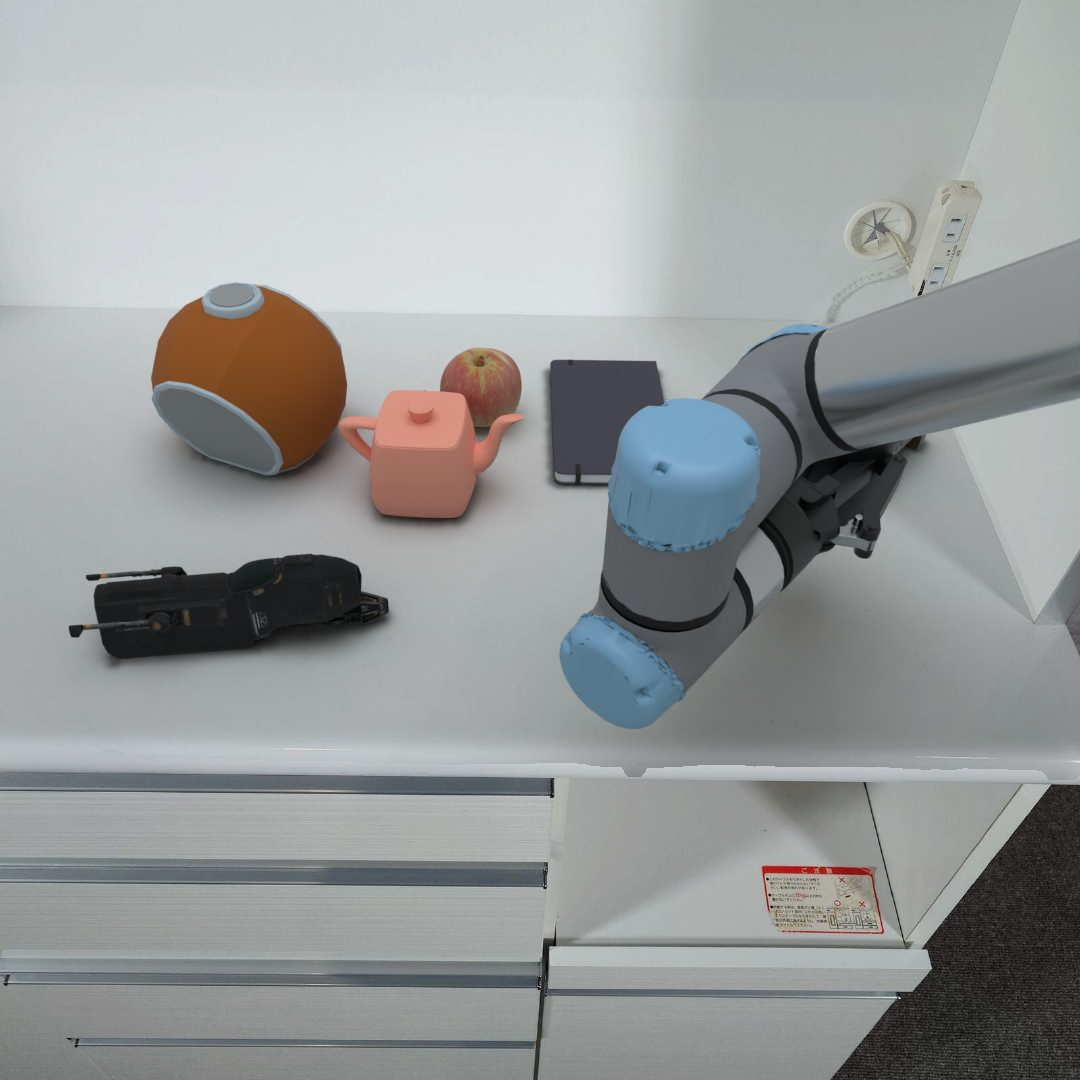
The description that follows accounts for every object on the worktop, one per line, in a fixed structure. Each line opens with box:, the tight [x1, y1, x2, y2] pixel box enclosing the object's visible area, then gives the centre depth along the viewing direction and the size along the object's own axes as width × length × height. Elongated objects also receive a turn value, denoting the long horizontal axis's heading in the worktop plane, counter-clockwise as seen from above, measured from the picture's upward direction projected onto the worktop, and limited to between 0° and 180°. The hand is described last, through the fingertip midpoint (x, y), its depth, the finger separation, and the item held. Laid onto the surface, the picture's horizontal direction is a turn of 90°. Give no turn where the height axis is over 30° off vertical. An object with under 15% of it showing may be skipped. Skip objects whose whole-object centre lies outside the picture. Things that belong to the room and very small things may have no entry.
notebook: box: [549, 359, 665, 486], centre depth 103 cm, size 13×2×21 cm
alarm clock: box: [150, 281, 348, 476], centre depth 94 cm, size 19×18×17 cm
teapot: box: [337, 389, 524, 519], centre depth 91 cm, size 12×18×10 cm, turn 88°
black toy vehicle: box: [68, 553, 390, 659], centre depth 78 cm, size 7×25×8 cm, turn 96°
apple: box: [439, 347, 523, 428], centre depth 101 cm, size 9×9×8 cm
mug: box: [808, 441, 898, 526], centre depth 74 cm, size 9×12×9 cm
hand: (893, 407), depth 76 cm, fingers closed on mug, 1 cm apart
